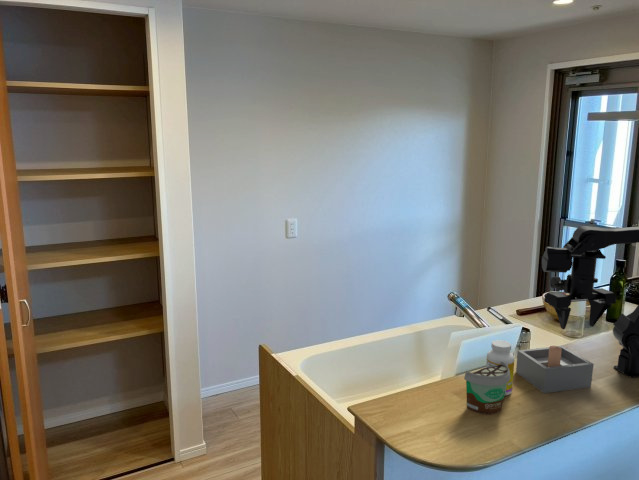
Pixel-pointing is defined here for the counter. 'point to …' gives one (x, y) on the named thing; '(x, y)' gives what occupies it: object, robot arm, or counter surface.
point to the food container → (487, 389)
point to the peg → (554, 356)
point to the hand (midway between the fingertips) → (577, 327)
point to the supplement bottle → (502, 359)
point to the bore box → (554, 370)
